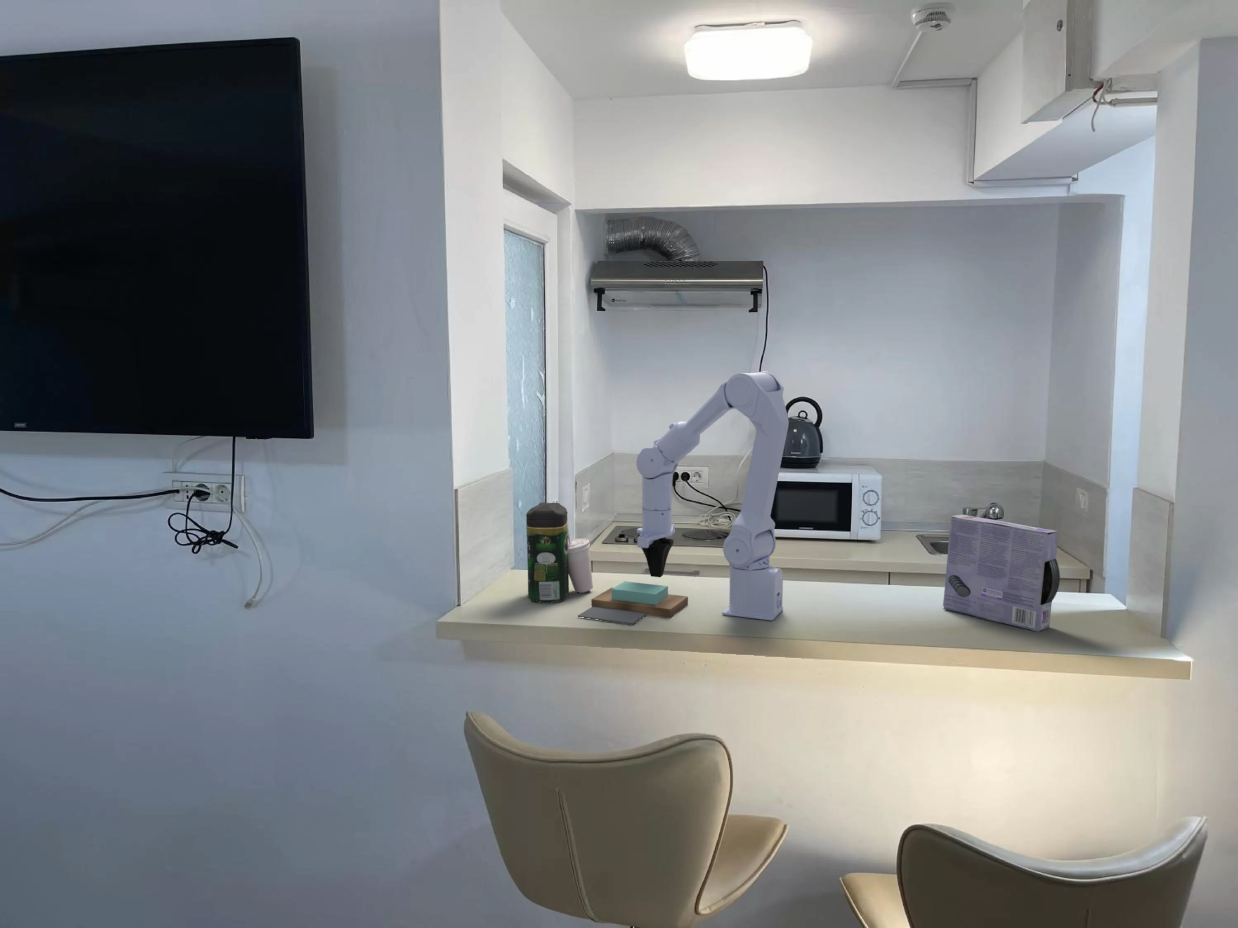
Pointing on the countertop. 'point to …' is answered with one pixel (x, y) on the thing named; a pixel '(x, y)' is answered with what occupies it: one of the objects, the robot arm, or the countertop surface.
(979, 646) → the countertop surface
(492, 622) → the countertop surface
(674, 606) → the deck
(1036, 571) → the cake pan box
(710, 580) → the countertop surface
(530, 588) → the coffee jar
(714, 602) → the countertop surface
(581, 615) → the mat
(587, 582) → the smoothie
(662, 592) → the teal rectangular block
